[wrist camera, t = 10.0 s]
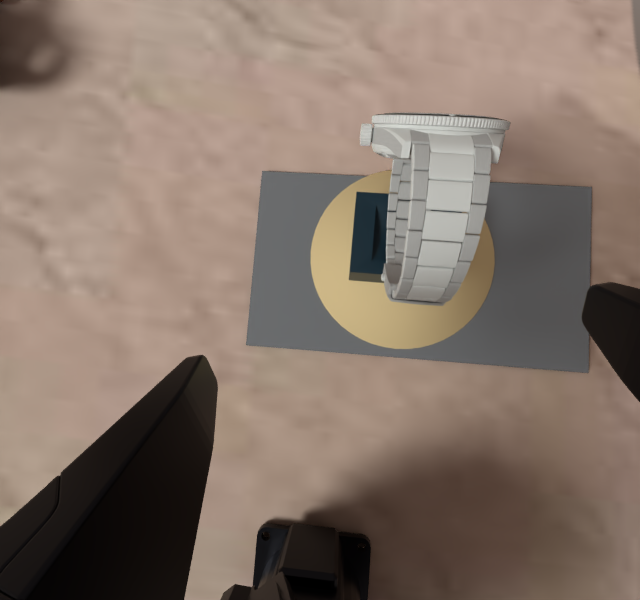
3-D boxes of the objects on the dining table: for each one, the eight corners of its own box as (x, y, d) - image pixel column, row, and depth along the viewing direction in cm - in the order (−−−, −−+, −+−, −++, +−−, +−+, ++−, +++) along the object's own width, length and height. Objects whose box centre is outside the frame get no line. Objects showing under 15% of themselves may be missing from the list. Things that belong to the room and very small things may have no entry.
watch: (447, 185, 22) (551, 43, 11) (439, 317, 21) (540, 303, 10) (355, 179, 22) (368, 36, 12) (344, 309, 22) (346, 287, 11)
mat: (584, 372, 21) (589, 373, 21) (247, 344, 22) (245, 345, 22) (588, 180, 22) (593, 178, 22) (264, 165, 23) (262, 162, 23)
